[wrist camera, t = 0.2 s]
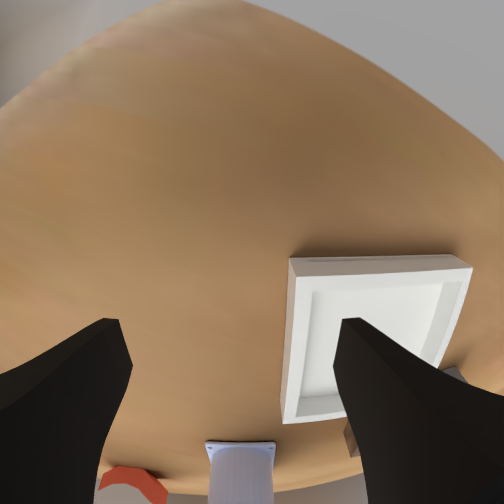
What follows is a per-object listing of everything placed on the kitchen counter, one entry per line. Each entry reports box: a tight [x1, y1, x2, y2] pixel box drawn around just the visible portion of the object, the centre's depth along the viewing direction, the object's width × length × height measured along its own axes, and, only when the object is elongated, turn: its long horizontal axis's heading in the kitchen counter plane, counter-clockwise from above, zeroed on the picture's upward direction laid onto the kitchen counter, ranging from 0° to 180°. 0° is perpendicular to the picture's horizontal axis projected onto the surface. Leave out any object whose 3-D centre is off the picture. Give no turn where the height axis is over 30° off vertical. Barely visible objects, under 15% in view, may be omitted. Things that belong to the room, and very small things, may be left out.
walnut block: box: [344, 420, 360, 458], centre depth 23 cm, size 4×4×4 cm
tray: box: [280, 254, 473, 424], centre depth 19 cm, size 14×14×3 cm
